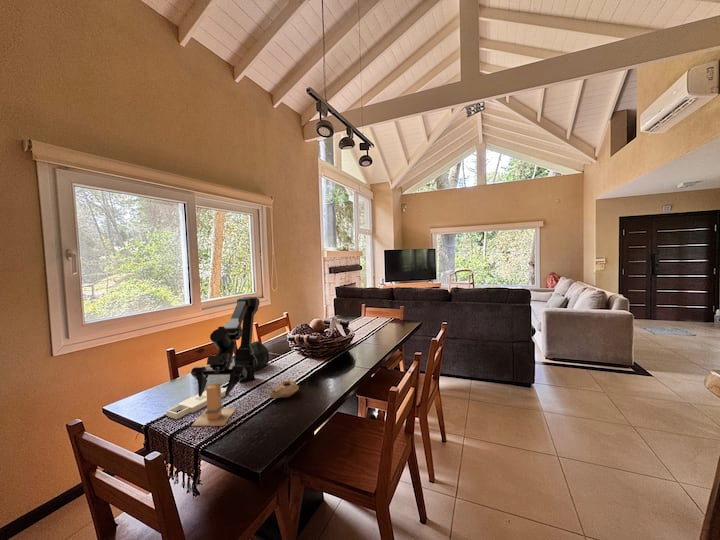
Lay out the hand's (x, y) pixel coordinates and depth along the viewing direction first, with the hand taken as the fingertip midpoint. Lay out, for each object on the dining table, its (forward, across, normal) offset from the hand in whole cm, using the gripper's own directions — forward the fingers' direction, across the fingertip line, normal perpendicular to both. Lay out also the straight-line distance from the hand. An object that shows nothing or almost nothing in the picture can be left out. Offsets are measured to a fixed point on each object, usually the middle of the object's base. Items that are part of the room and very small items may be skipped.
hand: (212, 395), depth 105 cm
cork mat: (+5, 0, +6) cm, 8 cm away
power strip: (-2, -11, +14) cm, 18 cm away
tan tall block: (+5, 0, +6) cm, 8 cm away
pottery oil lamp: (-5, +21, +17) cm, 28 cm away
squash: (-28, -1, +40) cm, 49 cm away
